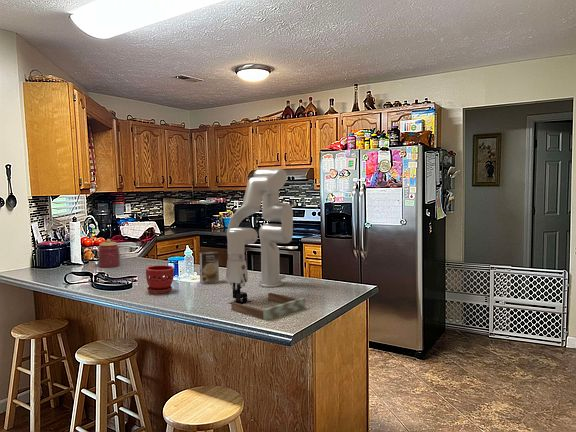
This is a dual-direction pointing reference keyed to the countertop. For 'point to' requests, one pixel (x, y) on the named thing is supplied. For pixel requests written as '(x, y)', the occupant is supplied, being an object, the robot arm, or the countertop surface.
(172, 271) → the plant pot
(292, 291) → the countertop surface
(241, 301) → the black piece
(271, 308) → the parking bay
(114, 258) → the canister
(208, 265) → the coffee box
